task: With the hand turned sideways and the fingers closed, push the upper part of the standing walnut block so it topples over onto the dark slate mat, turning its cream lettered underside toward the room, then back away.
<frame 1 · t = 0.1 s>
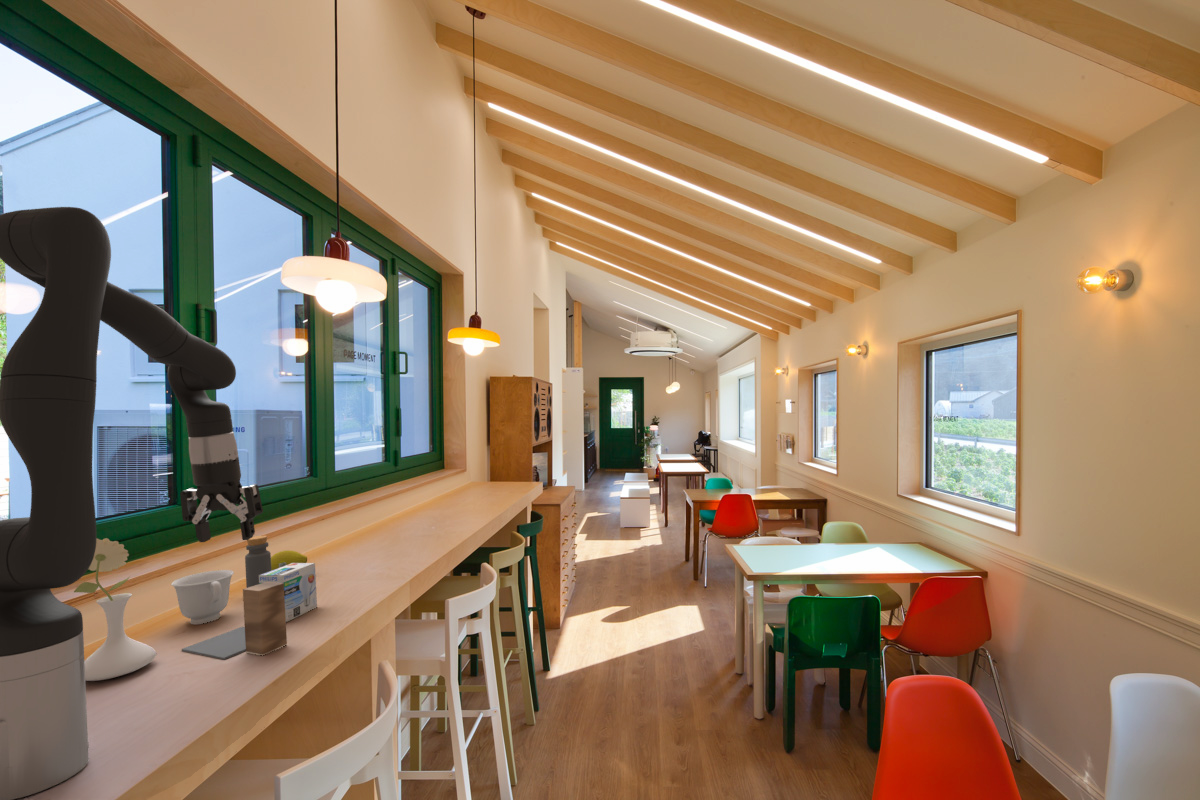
hand: (226, 539, 108), 22 cm above the table, tool pointing down, fingers open, 8 cm apart
lemon: (287, 578, 163), on the table
bottle: (259, 594, 149), on the table
teacup: (207, 621, 129), on the table
walnut block: (266, 649, 110), on the table
slate mat: (233, 643, 114), on the table
flower in vase: (113, 674, 103), on the table
light bulb box: (290, 615, 130), on the table
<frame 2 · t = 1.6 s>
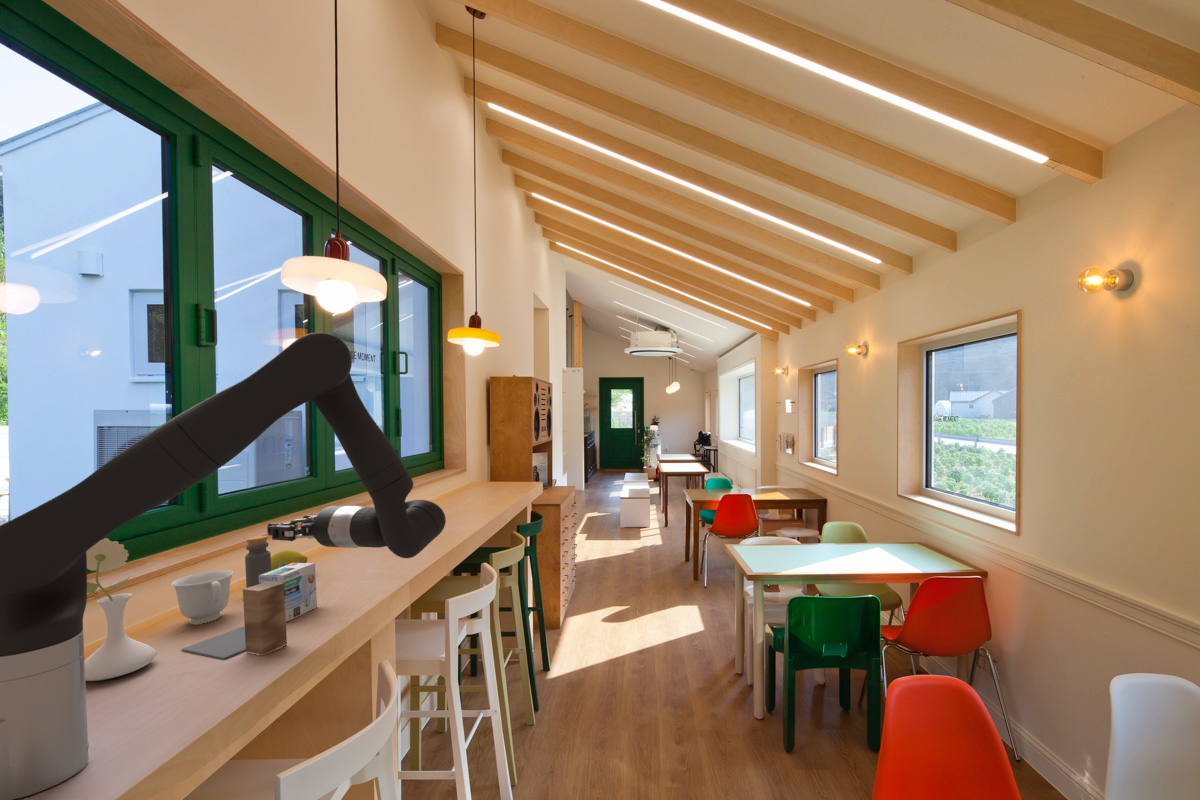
hand: (287, 524, 109), 24 cm above the table, tool horizontal, fingers open, 7 cm apart
nothing on the table moved.
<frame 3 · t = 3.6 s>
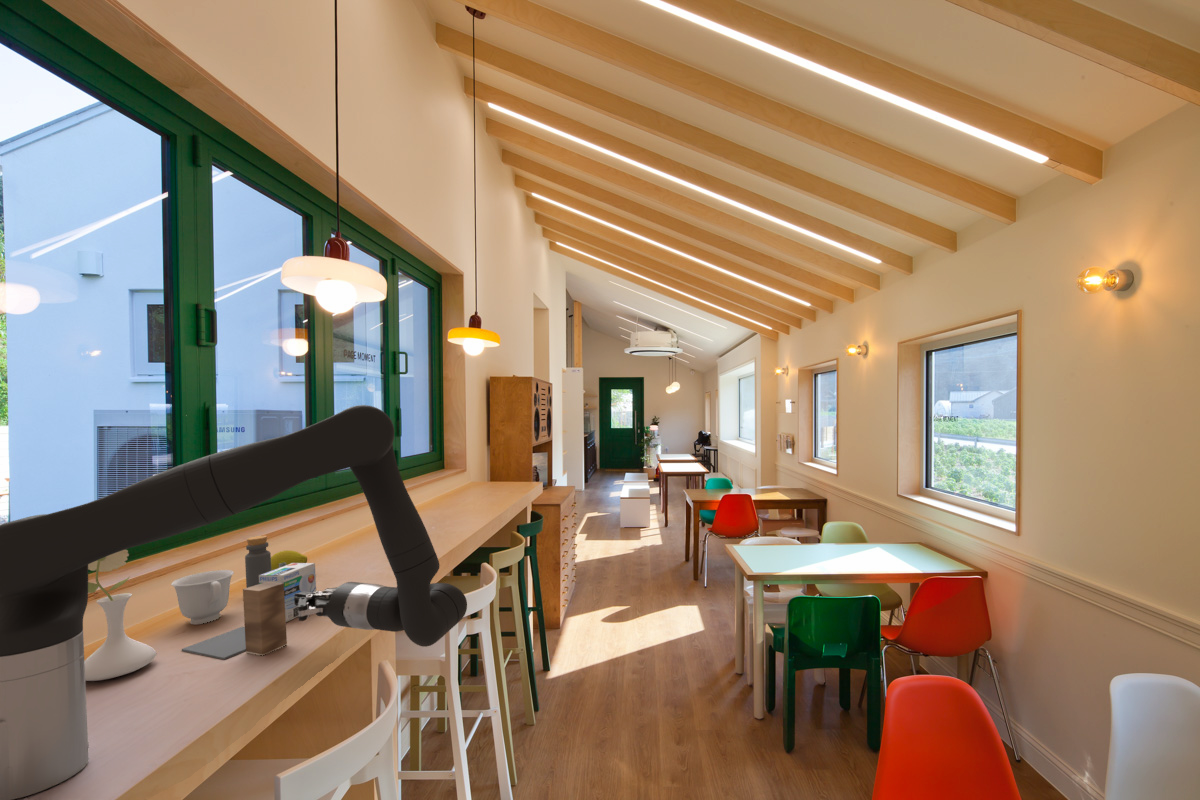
hand: (298, 598, 106), 11 cm above the table, tool horizontal, fingers closed
nothing on the table moved.
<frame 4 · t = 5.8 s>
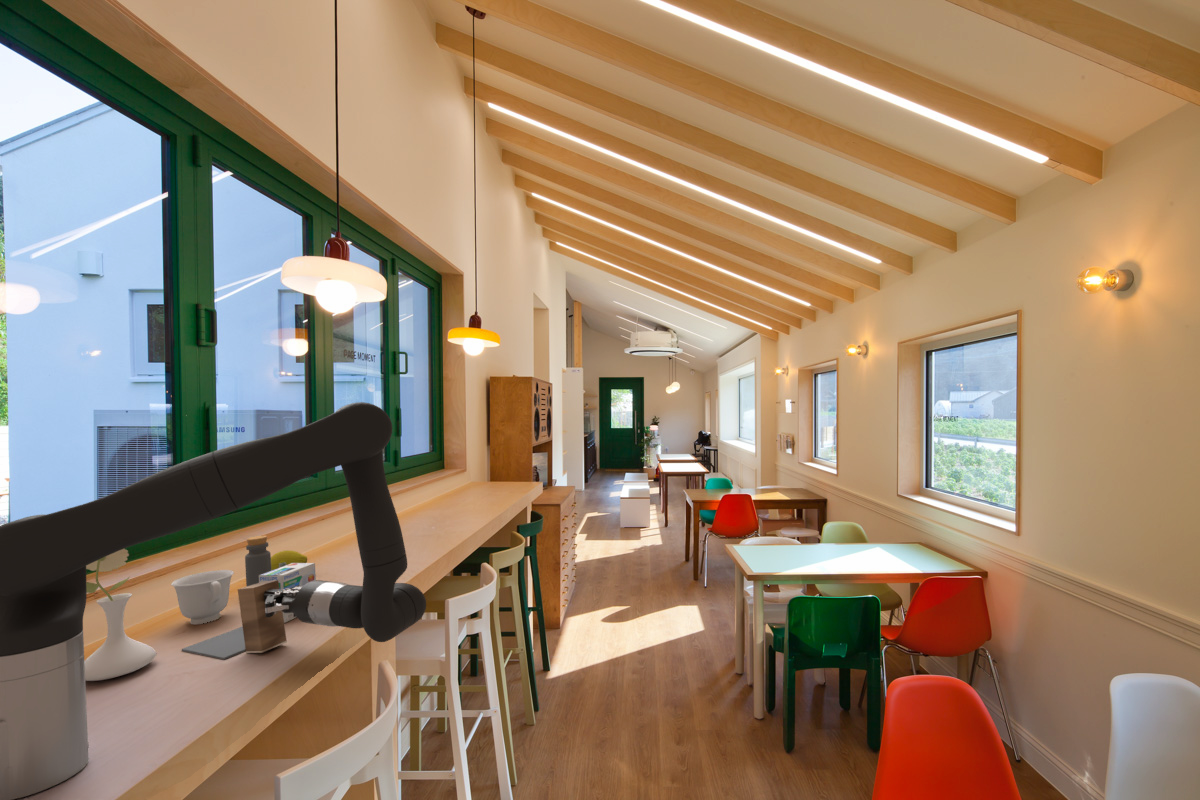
hand: (267, 595, 109), 11 cm above the table, tool horizontal, fingers closed
walnut block: (266, 647, 110), on the table, tilted 8°
everything else where it was.
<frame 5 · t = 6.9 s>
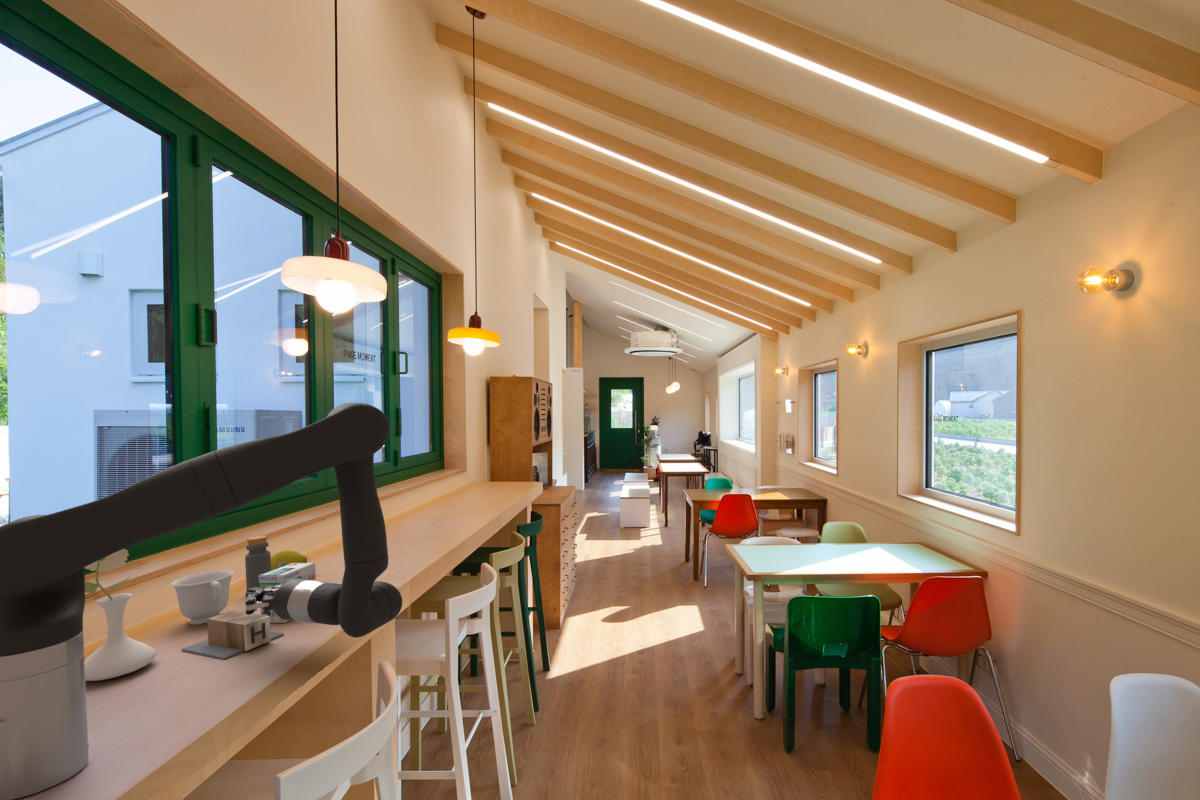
hand: (249, 593, 112), 11 cm above the table, tool horizontal, fingers closed
walnut block: (258, 632, 111), point 3 cm above the table, tilted 90°, touching slate mat
everything else where it was.
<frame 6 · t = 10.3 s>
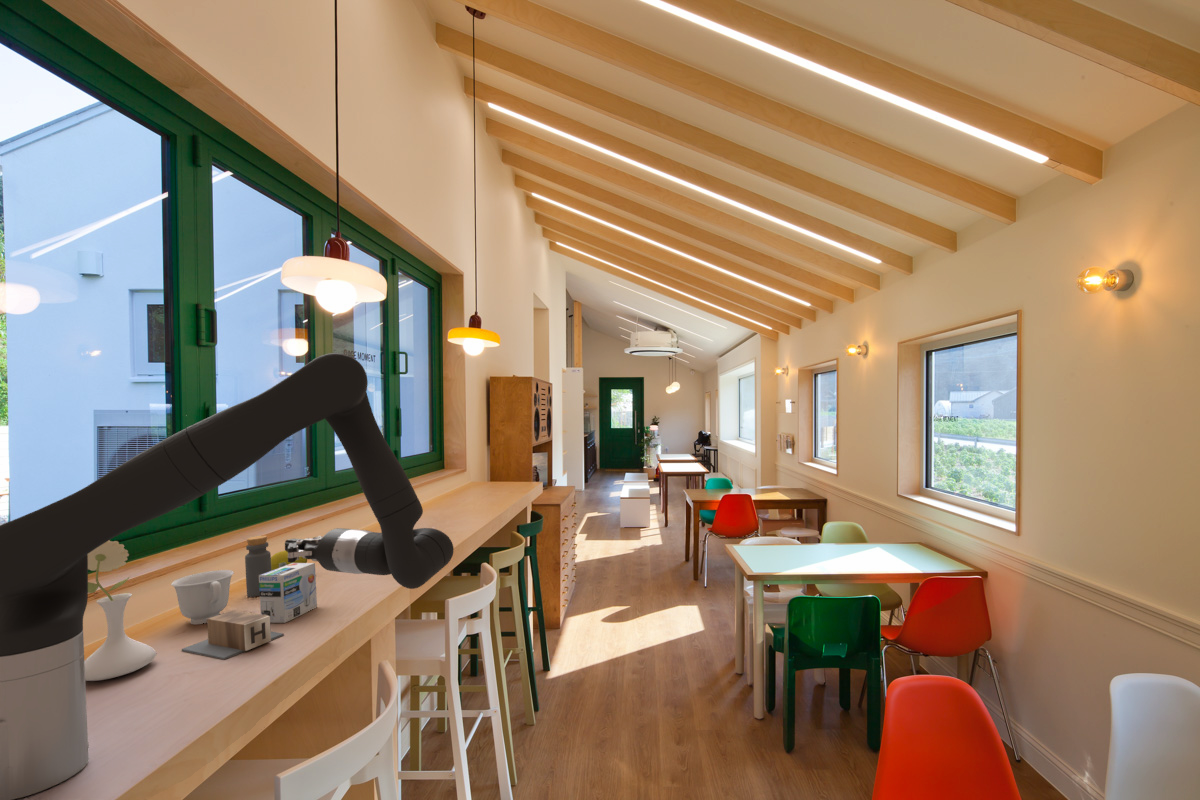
hand: (288, 544, 107), 21 cm above the table, tool horizontal, fingers closed
nothing on the table moved.
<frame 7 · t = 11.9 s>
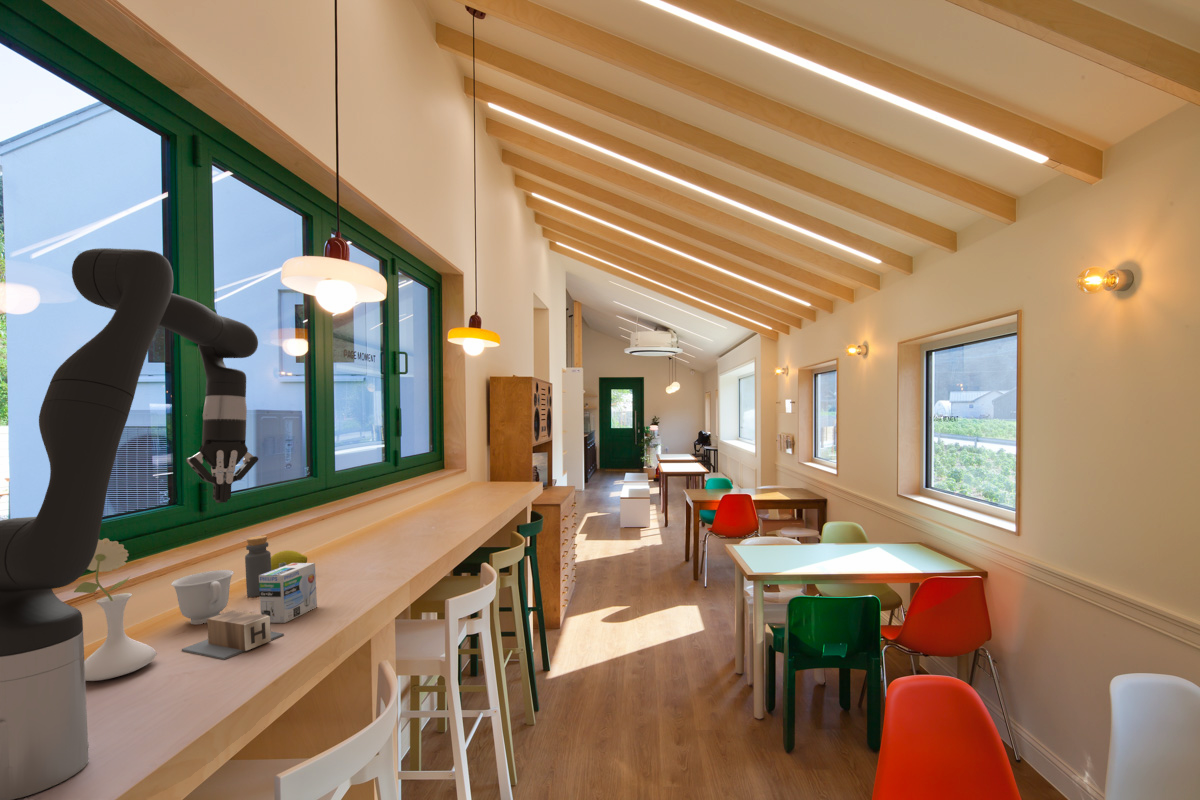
hand: (221, 502, 115), 29 cm above the table, tool pointing down, fingers closed
nothing on the table moved.
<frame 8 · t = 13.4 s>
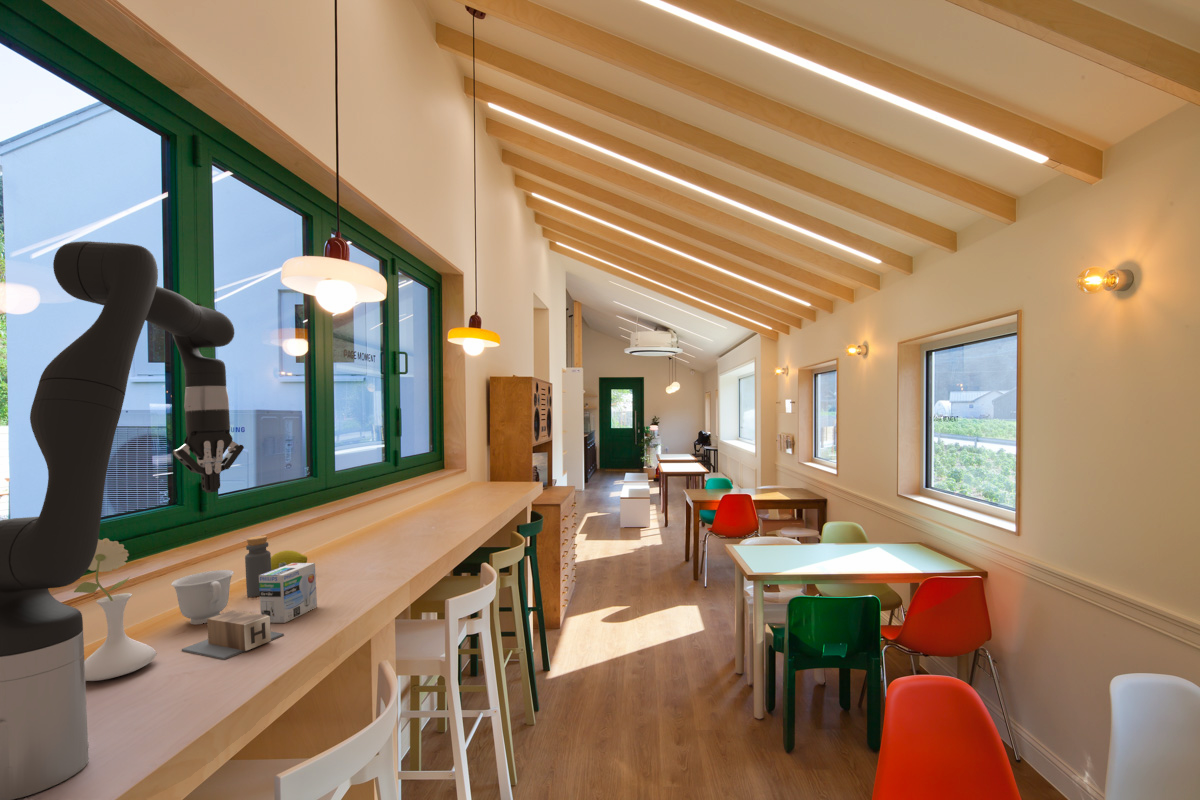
hand: (211, 492, 116), 31 cm above the table, tool pointing down, fingers closed
nothing on the table moved.
at the end: walnut block tilted 90°; walnut block 8.1 cm from the slate mat (horizontally); walnut block point 2.9 cm above the table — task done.
